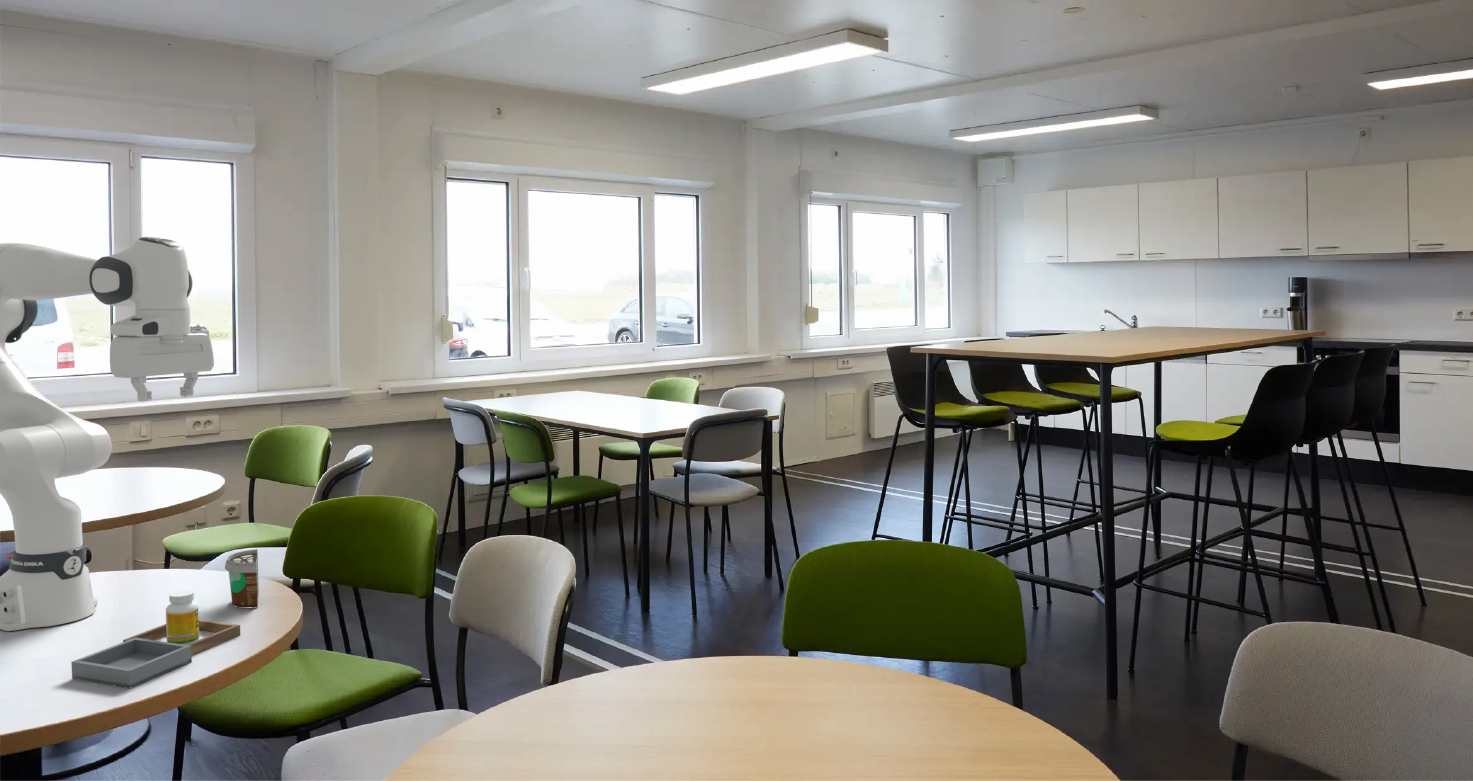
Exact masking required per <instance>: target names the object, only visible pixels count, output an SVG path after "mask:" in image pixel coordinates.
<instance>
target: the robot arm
mask: <svg viewBox="0 0 1473 781" xmlns="http://www.w3.org/2000/svg"><path fill="white" fill-rule="evenodd" d="M192 290H193V277H192V275H191V272H190V271H189V266H188V259H187V255H186V252H185V249H184V247H183V245H182V244H181V243H179V242H177V241H175V240H172V239H168V238H167V239H166V238H160V237H153V236H144V237H143V236H142V237H138V238H137V239H135V241H134V243H133V244H132V245H130V246H129V247H128V248H126V249H124V250H122V251H120V252H117V253H114V254H110V255H108V256H101V257H100V258H99V259H96V258H91V257H86V256H82V255H78V254H74V253H70V252H65V251H61V250H58V249H53V248H50V247H46V246H41V245H35V244H30V243H19V242H18V243H17V242H16V243H15V242H13V243H12V242H11V243H9V242H8V243H7V242H6V243H5V242H4V243H0V495H1V496H2V497H3V499H4V500H5V502H6V504H7V506H8V508H9V511H10V513H11V516H12V523H13V533H14V543H15V544H14V546H15V550H14V551H12V552H8V553H5V556H7V557H6V558H5V560H10V563H9V567H8V570H7V571H5V572H4V573H2V575H1V576H0V630H2V631H5V632H10V631H12V632H13V631H19V630H25V629H33V628H44V627H52V626H58V625H64V624H67V623H68V624H69V623H71V622H76V621H78V620H82V619H84V618H87V617H89V616H91V615H93V614H94V613H95V612H96V610H97V609H96V606H97V605H98V598H97V597H94V594H93V587H92V582H91V581H92V580H91V575H90V570H89V567H88V566H86V565H85V562H87V549H86V544H85V543H83V525H82V524H83V523H82V509H81V508H80V506H79V505H78V504H77V503H76V502H75V501H73V500H71V499H69V498H67V497H64V496H61V494H59V492H58V490H57V487H56V482H55V481H56V480H55V479H60V478H66V477H72V476H78V475H83V474H85V473H87V472H90V471H93V470H95V469H98V468H100V467H102V466H103V465H105V464H106V463H107V462H108V460H109V459H110V457H111V454H112V448H113V447H112V444H113V443H112V440H111V437H110V434H109V433H108V431H107V430H106V428H104V427H103V426H102V425H100V424H98V423H96V422H92V421H88V420H86V419H83V418H81V417H78V416H76V415H73V414H72V413H70V412H68V411H67V410H65V409H63V408H62V407H60V406H59V405H57V404H55V403H54V402H52V401H51V400H49V399H48V398H47V397H46V396H44V395H43V394H42V393H41V392H40V391H39V390H38V389H37V387H36V386H35V385H34V384H33V383H32V382H31V381H30V379H29V378H28V377H27V375H25V373H24V372H23V370H21V368H20V367H19V365H18V364H17V363H16V361H15V360H13V358H12V357H11V356H10V354H9V353H8V351H7V348H6V344H12V343H16V342H18V341H20V340H21V338H22V336H23V334H24V333H26V332H27V331H28V330H29V329H30V328H31V327H32V325H33V324H34V323H35V321H36V320H37V316H38V314H39V313H38V312H39V306H38V302H37V301H45V300H46V301H47V300H53V299H62V298H68V297H76V296H77V297H78V296H83V295H84V296H85V295H91V294H92V295H94V297H95V298H96V299H97V300H98V301H99V302H100V303H102V304H104V305H107V306H112V307H135V309H134V310H135V311H134V313H135V314H133V315H131V316H129V317H126V318H125V319H121V320H119V321H116V322H114V323H112V324H111V325H110V334H111V336H114V337H113V338H112V340H111V342H110V345H109V367H110V368H109V369H110V372H111V373H112V376H114V377H115V378H121V379H130V384H131V385H132V387H133V388H134V390H135V391H136V392H137V396H136V397H137V401H138V402H149V401H152V399H153V398H152V391H149V390H148V389H147V387H146V385H145V383H146V384H147V377H154V376H156V377H157V376H168V375H179V374H183V378H184V379H185V380H184V384H183V386H180V387H179V392H180V393H179V395H180V397H182V398H183V397H185V398H186V397H194V387H195V385H196V383H197V381H198V380H199V373H202V372H203V373H204V372H211V371H212V370H213V368H214V365H215V360H214V359H215V358H214V352H213V350H214V349H213V345H212V340H211V338H210V331H209V330H208V329H207V327H205V326H204V325H203V324H200V323H199V324H197V323H196V324H191V308H190V305H189V302H188V297H189V296H190V294H191V292H192Z"/></svg>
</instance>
